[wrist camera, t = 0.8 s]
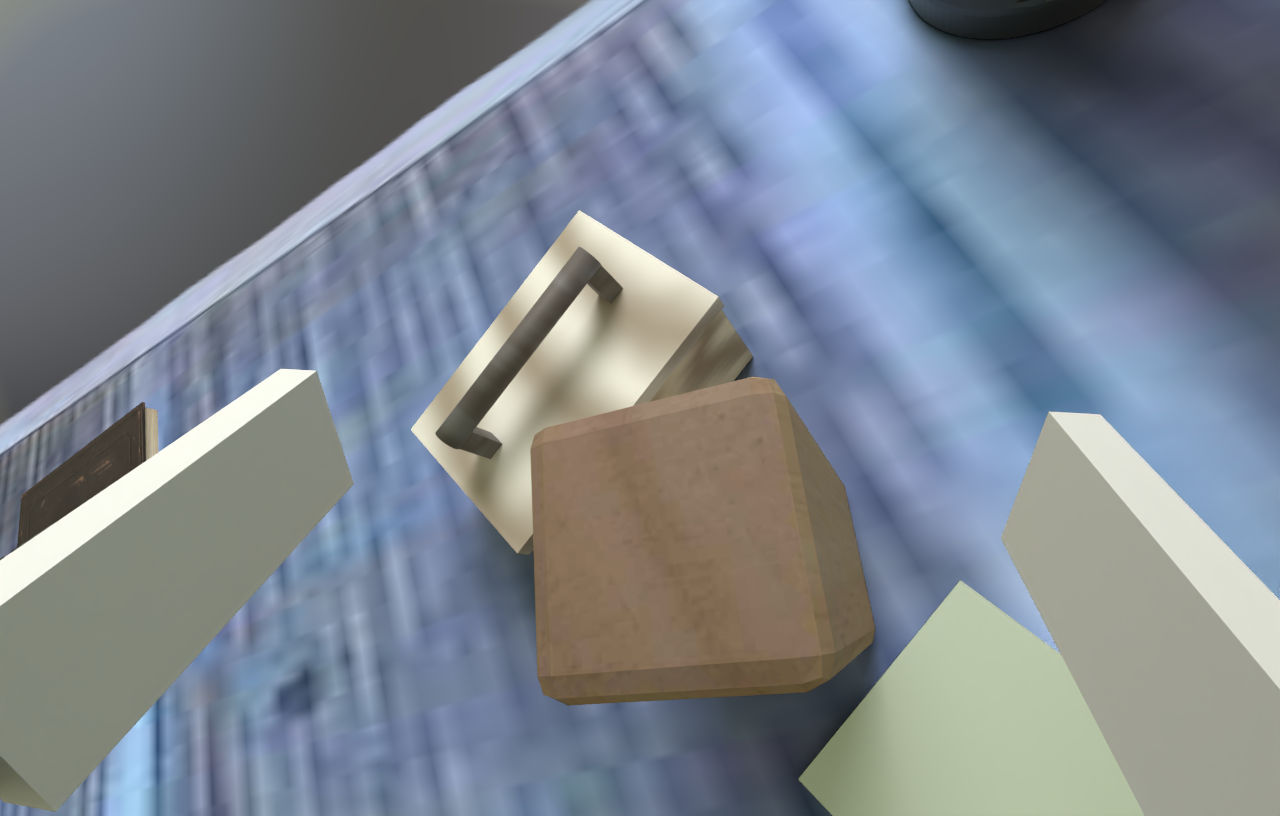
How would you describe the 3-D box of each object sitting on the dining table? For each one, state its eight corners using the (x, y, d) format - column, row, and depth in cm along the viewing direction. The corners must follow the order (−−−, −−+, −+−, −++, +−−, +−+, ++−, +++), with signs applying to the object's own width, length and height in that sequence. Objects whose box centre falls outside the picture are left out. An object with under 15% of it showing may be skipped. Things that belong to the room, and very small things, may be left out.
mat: (959, 580, 33) (960, 580, 32) (1262, 803, 26) (1269, 808, 26) (800, 776, 33) (798, 779, 33) (1055, 1046, 27) (1058, 1055, 26)
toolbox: (636, 275, 48) (544, 170, 36) (763, 359, 41) (702, 264, 30) (495, 458, 48) (360, 412, 37) (599, 568, 42) (475, 555, 30)
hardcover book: (44, 497, 76) (21, 495, 74) (163, 407, 71) (141, 401, 69) (36, 620, 69) (10, 621, 67) (167, 531, 64) (143, 528, 62)
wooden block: (710, 660, 37) (526, 711, 20) (690, 500, 41) (518, 424, 23) (880, 646, 34) (838, 695, 16) (843, 473, 37) (775, 359, 20)
